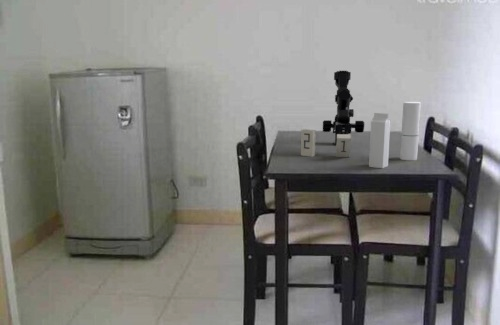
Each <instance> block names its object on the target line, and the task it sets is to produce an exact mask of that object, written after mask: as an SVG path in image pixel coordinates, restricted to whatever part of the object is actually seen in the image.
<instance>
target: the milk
mask: <svg viewBox="0 0 500 325" xmlns="http://www.w3.org/2000/svg"><path fill="white" fill-rule="evenodd" d="M390 136H391V120H390V118H389V113H383V112H381V113H379V112H378V113H377V112H374V114H373V117H372V119H371V121H370V137H369V138H370V139H369V156H368V157H369V158H368V167H369V168H370V167H371V168H376V169H385V168H387V167H388V166H389V154H390Z"/></svg>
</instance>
